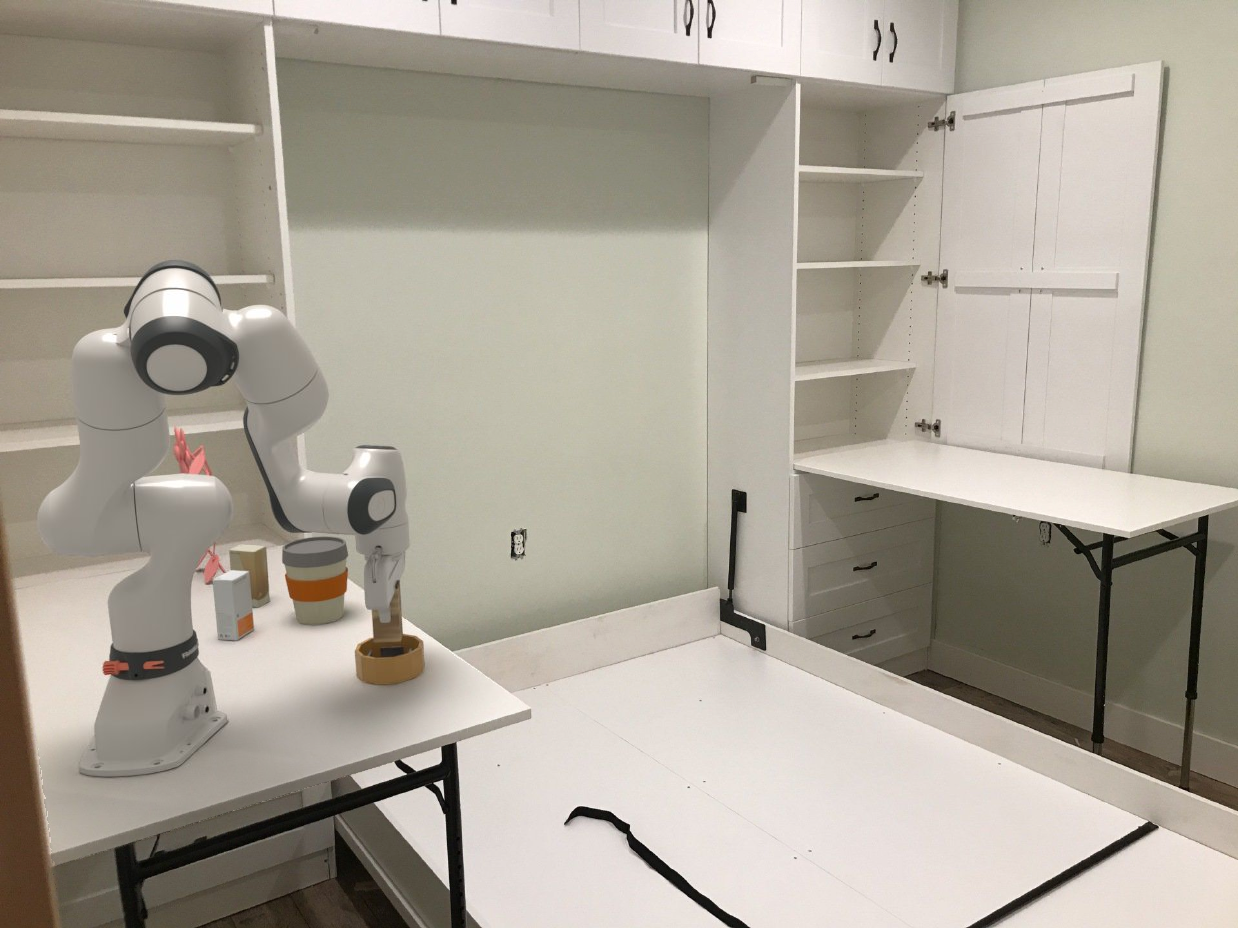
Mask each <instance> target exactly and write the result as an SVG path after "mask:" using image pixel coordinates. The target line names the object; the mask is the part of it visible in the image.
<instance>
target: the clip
mask: <svg viewBox="0 0 1238 928" xmlns="http://www.w3.org/2000/svg"><path fill="white" fill-rule="evenodd" d="M411 651H412V648H410V650H409V652H411ZM380 654H381V658H382V657H395V656H399V655H403V654H404V646H394V647H380ZM368 656H370V657H373V656H372V650H370V651H369V653H368Z"/></svg>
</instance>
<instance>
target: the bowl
mask: <svg viewBox="0 0 1238 928" xmlns="http://www.w3.org/2000/svg"><path fill="white" fill-rule="evenodd" d="M394 646H404V654H403V655H399V656H395V657H382V658H381V654H380V647H394ZM424 647H425V646H424V640H422V638H420V637H418V636H417V635H413V634H409V633H408V634H406V633H403V636H402V639H401V642H375V643H374V639H373V636H372V637H369V638H367V639H365V640H363V641H361V642H360V643H357V646H356V647H355V649H354V659H355V672H356V677H358V679H359V680H361V681H362V682H365V683H369V684H373V685H392V684H398V683H403V682H406V681H410V680H412V679H414V678H416V677H417V676H419V675H421V674H422V673H423V672H424V669H425V667H426V666H425V665H426V663H425V648H424ZM410 648H412V651H411V652H409V650H410ZM370 650H372V656H373V657H370V656H368V653H369V651H370Z"/></svg>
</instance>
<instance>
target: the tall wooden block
mask: <svg viewBox="0 0 1238 928" xmlns="http://www.w3.org/2000/svg"><path fill="white" fill-rule="evenodd" d="M375 583H376V582H375ZM390 610H391V615H392V618H391V620H390V622H388V623H381V622H380V618H379V612H378V610H371V619H372V620H371V621H372V637H373V639H374V643H375V642H401V639H402V636H403V634H404V629H403V614H402V595H401V580H398V581H397V583H396V585H395V593H394V595H393V597H392V600H391V602H390Z"/></svg>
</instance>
